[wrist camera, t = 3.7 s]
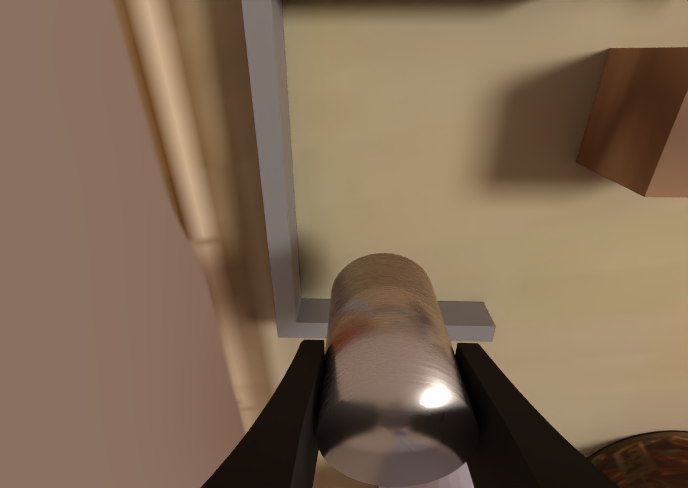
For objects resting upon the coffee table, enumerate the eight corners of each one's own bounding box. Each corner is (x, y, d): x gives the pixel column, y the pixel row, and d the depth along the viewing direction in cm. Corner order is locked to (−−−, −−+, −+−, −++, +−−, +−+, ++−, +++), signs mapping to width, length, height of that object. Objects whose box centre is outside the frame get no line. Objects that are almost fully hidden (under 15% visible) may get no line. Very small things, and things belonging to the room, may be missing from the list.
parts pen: (480, 316, 21) (492, 341, 19) (284, 312, 21) (278, 337, 19) (558, -40, 13) (589, -54, 11) (251, -38, 13) (235, -52, 12)
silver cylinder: (432, 334, 15) (472, 485, 10) (336, 338, 15) (325, 488, 10) (434, 250, 13) (485, 379, 8) (325, 256, 14) (306, 386, 8)
